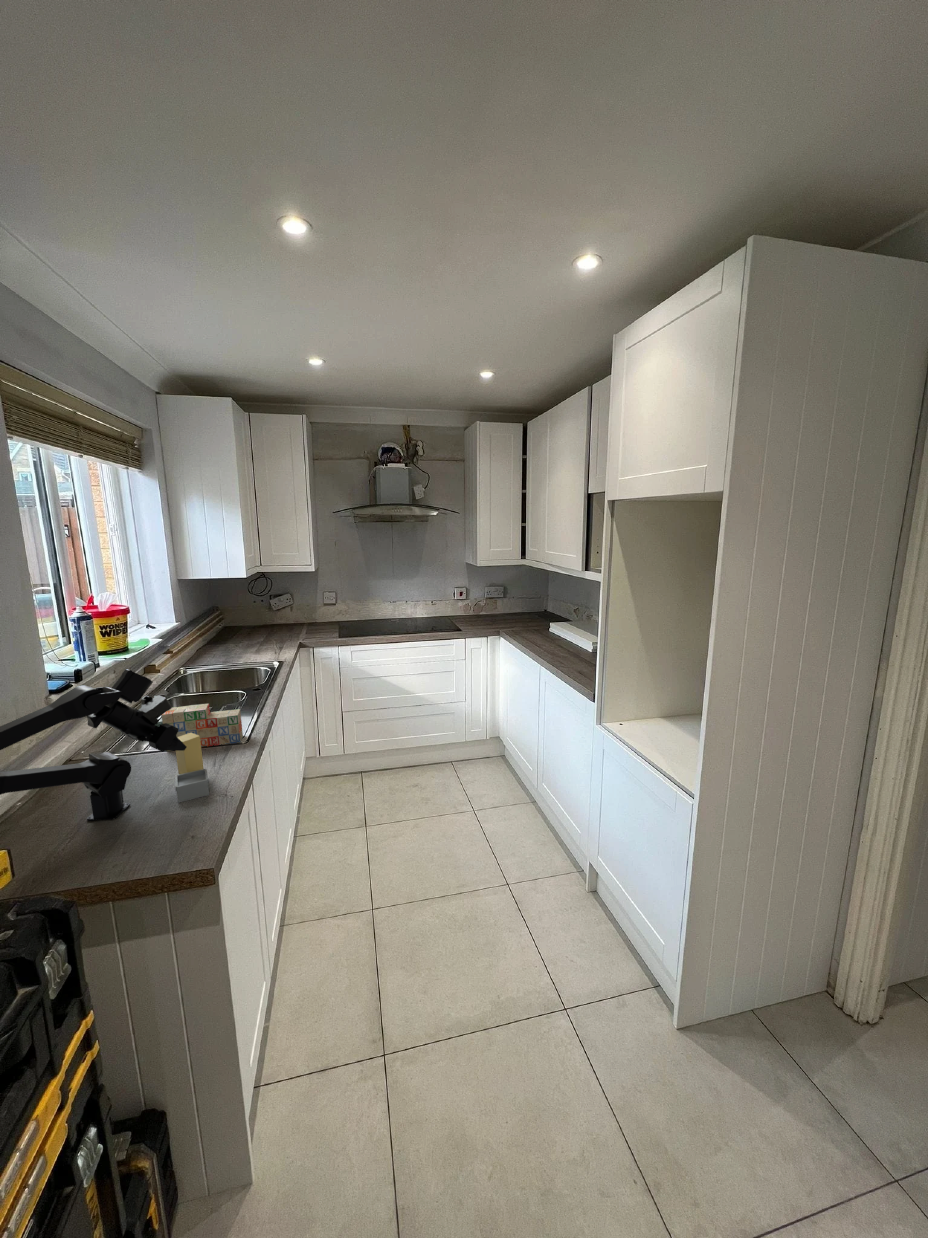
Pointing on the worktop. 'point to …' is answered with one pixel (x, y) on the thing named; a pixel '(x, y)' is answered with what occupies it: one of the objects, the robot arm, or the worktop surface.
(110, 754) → the robot arm
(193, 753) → the mustard brick
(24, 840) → the worktop surface
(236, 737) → the stack of blocks
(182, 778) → the base tray
